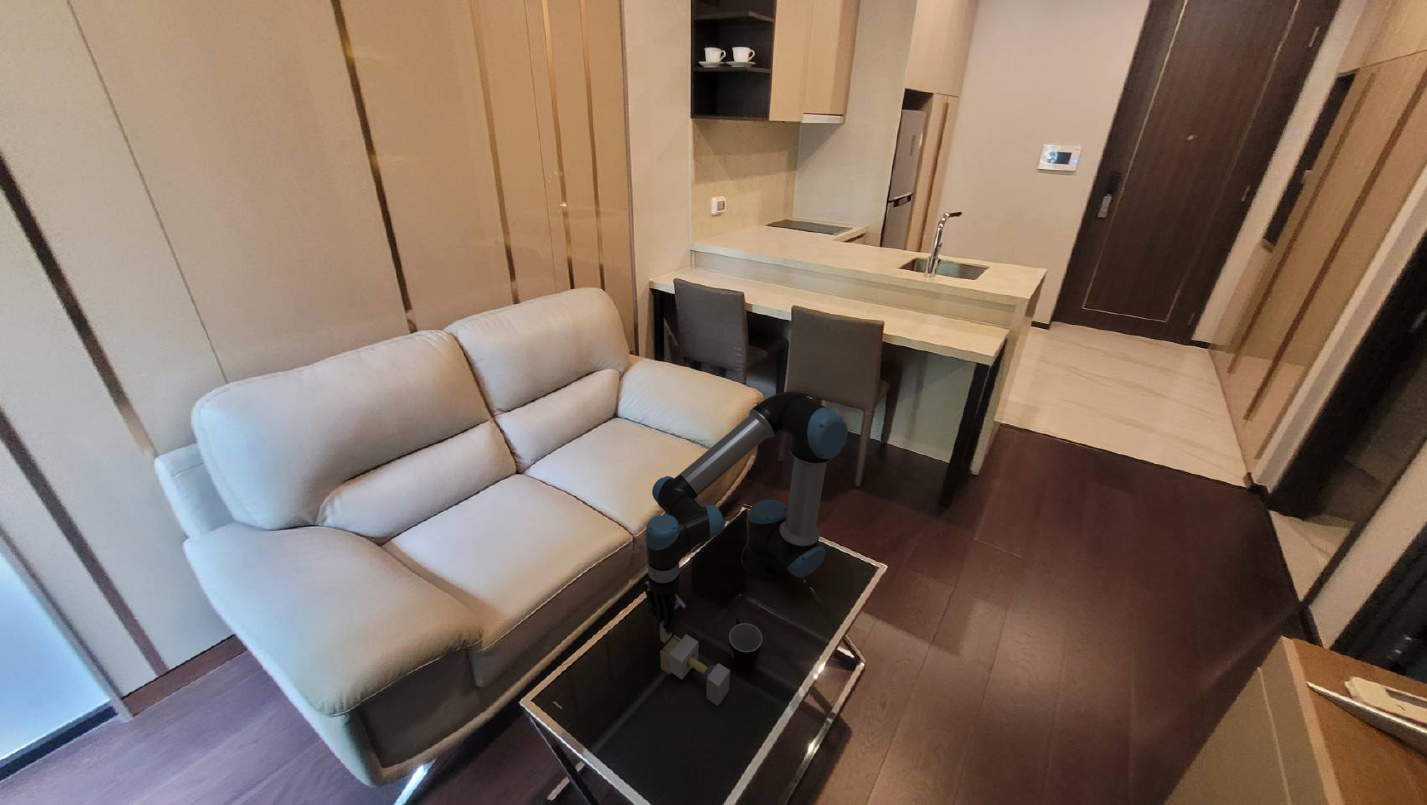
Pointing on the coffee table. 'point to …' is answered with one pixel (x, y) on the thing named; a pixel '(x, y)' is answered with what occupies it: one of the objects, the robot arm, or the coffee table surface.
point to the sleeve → (683, 656)
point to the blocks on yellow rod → (713, 675)
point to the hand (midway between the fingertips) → (666, 638)
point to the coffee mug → (744, 646)
